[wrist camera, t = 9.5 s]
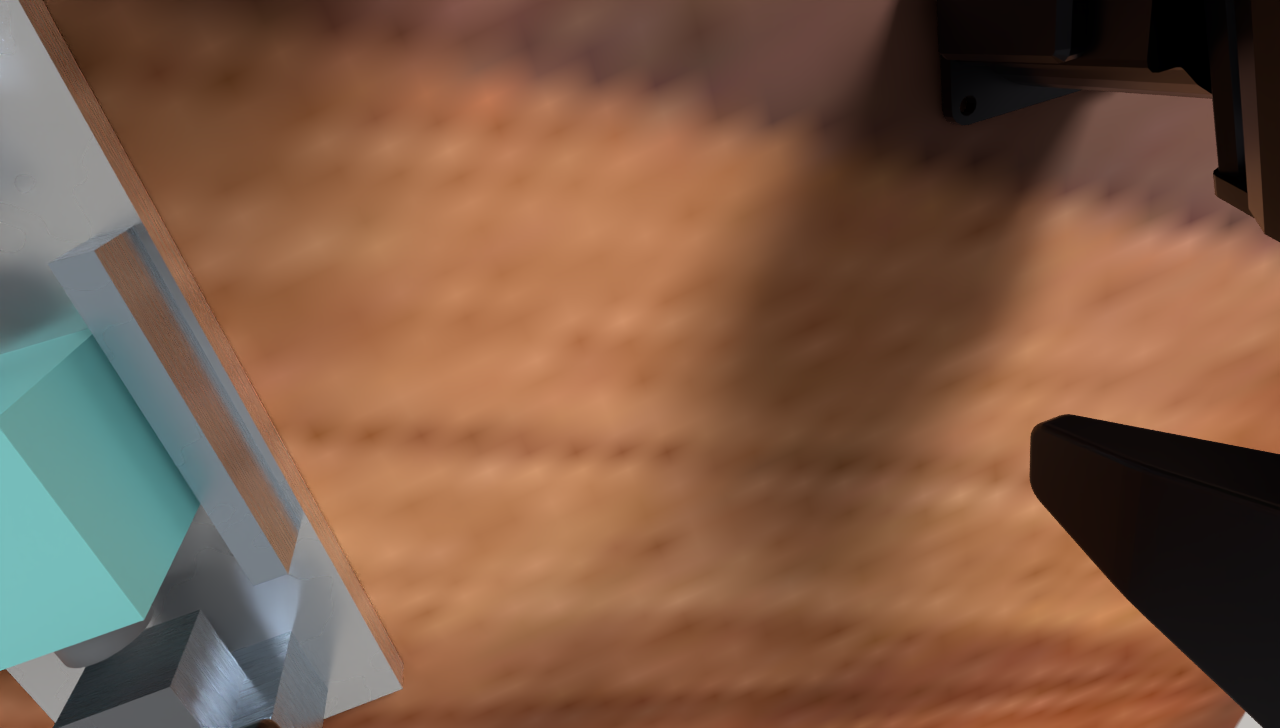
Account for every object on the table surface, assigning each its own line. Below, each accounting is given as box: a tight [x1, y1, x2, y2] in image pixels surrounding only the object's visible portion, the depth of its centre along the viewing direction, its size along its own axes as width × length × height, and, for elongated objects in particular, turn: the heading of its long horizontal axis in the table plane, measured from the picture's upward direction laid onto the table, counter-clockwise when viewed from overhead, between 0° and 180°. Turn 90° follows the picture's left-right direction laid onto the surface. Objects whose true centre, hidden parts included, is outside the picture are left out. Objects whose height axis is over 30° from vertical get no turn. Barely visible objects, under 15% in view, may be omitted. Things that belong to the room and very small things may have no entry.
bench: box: [0, 0, 403, 728], centre depth 15 cm, size 8×21×5 cm, turn 13°
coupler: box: [0, 329, 200, 671], centre depth 14 cm, size 4×8×4 cm, turn 14°
